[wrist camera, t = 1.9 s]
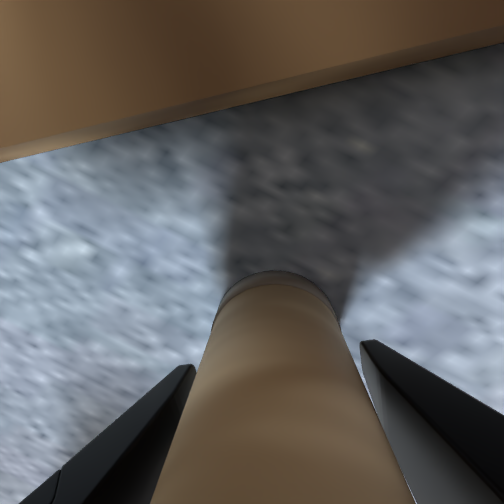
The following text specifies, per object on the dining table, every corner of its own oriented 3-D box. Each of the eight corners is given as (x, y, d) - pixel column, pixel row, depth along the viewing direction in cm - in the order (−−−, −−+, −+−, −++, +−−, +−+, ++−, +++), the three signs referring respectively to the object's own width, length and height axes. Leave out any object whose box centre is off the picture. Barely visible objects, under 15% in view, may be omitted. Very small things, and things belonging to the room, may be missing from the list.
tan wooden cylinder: (327, 261, 9) (673, 824, 1) (341, 367, 10) (571, 1011, 2) (203, 281, 9) (-87, 780, 2) (230, 381, 10) (123, 955, 3)
